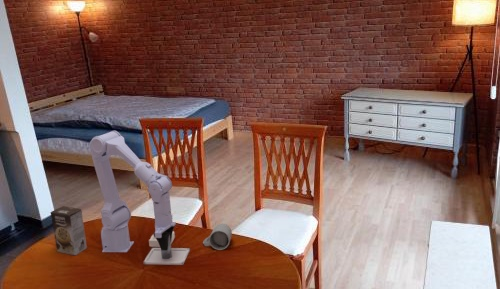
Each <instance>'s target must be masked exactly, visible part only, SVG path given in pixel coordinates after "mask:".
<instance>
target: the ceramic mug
mask: <svg viewBox="0 0 500 289" xmlns="http://www.w3.org/2000/svg"><path fill="white" fill-rule="evenodd" d="M232 233H233V232H232V229H231V226H229V225H228V224H226V223H218V224H217V225H216V226H215V227H213V229H212V232H210V235H209V236H208V237H206V238H205V239H204V240H203V242H202V244H203V245H204V247H211V248H213V249H214V250H217V251H218V250H219V251H222V250H225V249H226V248H228V247H229V245H230V242H231V238H232Z"/></svg>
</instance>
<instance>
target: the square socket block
mask: <svg viewBox="0 0 500 289" xmlns="http://www.w3.org/2000/svg"><path fill="white" fill-rule="evenodd" d="M175 234H176V233H175V231H174V230H173V233H172V240H171V244H172V243H173V242H174V240H175V238H176V235H175ZM148 245H149V247H150V248H160V245H159V243H158V241H157V239H156V238H155V237H154V235H153V234H152V235H151V236H150V239H148Z"/></svg>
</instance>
